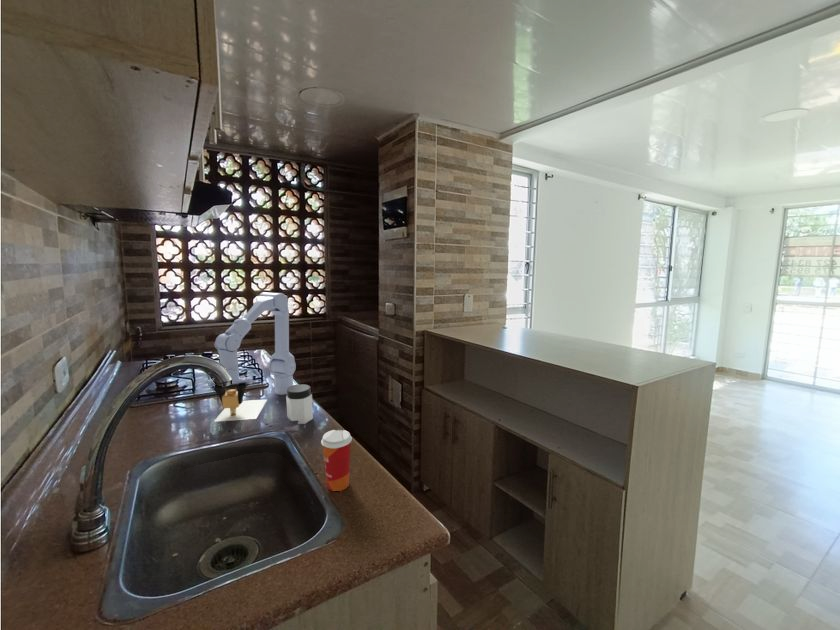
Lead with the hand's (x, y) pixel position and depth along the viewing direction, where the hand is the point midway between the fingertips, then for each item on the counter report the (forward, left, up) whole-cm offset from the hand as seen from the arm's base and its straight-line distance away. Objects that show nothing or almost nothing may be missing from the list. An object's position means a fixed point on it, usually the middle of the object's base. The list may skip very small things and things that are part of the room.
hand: (232, 403), depth 136 cm
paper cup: (+47, +39, -6) cm, 61 cm away
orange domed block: (0, 0, -1) cm, 1 cm away
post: (0, 0, -4) cm, 4 cm away
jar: (+5, +24, -6) cm, 25 cm away
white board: (-4, +2, -6) cm, 7 cm away
